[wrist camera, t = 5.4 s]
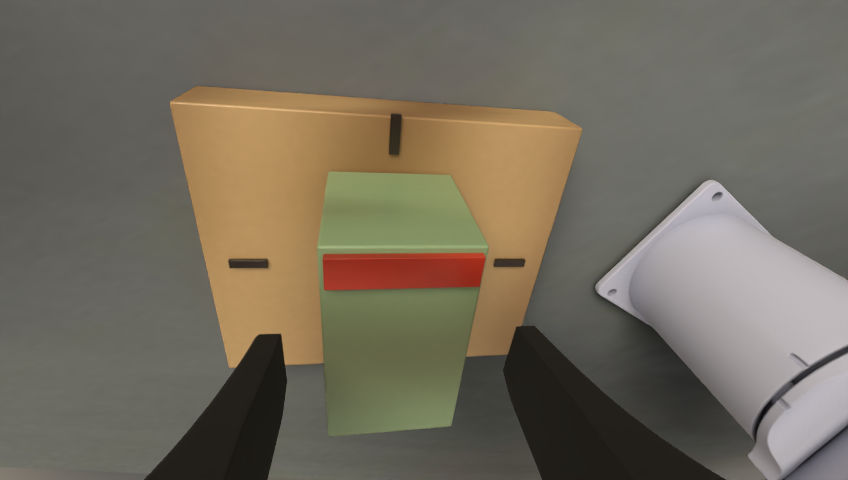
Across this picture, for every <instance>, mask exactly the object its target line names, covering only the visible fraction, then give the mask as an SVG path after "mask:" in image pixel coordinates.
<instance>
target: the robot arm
mask: <svg viewBox="0 0 848 480" xmlns="http://www.w3.org/2000/svg"><path fill="white" fill-rule="evenodd" d="M714 194H715V195H714ZM595 290H596V291H597V293H598V294H599V295H600V296H602V297H604V298H605V299H607V300H609V301H610V302H612V303H614V304H615V305H617V306H619V307H620V308H622V309H623V310H625V311H627V312H628V313H630V314H632V315H633V316H635V317H637V318H638V319H640V320H642V321H643V322H645V323H647V324H648V325H650V326H651V327H653V328H654V329H655V330H656V332H657V333H658V334H659V335H660V336H661V337H662V338H663V339H664V341H665V342H666V343H667V344H668V345H669V346H670V347H671V348H672V349H673V351H674V352H675V353H676V354H677V355H678V356H679V357H680V358H681V359H682V361H683V362H684V363H685V364H686V365H687V366H688V367H689V368H690V370H691V371H692V372H693V373H694V374H695V375H696V376H697V377H698V378H699V380H700V381H701V382H702V383H703V384H704V385H705V386H706V387H707V388H708V390H709V391H710V392H711V393H712V394H713V395H714V396H715V397H716V399H717V400H718V401H719V402H720V403H721V404H722V405H723V406H724V407H725V409H726V410H727V411H728V412H729V413H730V414H731V415H732V416H733V418H734V419H735V420H736V421H737V422H738V423H739V424H740V425H741V426H742V428H743V429H744V430H745V431H746V432H747V433H748V434H749V435H750V436H751V438H752V439H753V440H754V441H755V442H756V444H755V446H754V447H753V448H752V450H751V451H750V452H749V453H748V454H747V457H748V458H749V459H750V461H751V462H752V463H753V464H754V465H755V466H756V468H757V469H758V470H759V471H760V472H761V473H762V475H763V476H764V477H765V478H766V479H765V480H848V280H846V279H844V278H843V277H841V276H839V275H837V274H836V273H834V272H832V271H831V270H829V269H827V268H825V267H824V266H822V265H820V264H819V263H817V262H815V261H813V260H812V259H810V258H808V257H806V256H805V255H803V254H801V253H800V252H798V251H796V250H794V249H793V248H791V247H789V246H788V245H786V244H784V243H782V242H781V241H779V240H777V239H775V238H774V237H772V236H771V235H770V234H769V233H768V232H767V230H766V229H765V228H764V227H763V226H762V225H761V224H760V223H759V222H758V221H757V220H756V219H755V218H754V217H753V216H752V215H751V214H750V213H749V212H748V211H747V210H746V209H745V208H744V207H743V206H742V205H741V204H740V203H739V202H738V201H737V200H736V199H735V198H734V197H733V196H732V195H731V194H730V193H729V192H728V191H727V190H726V189H725V188H724V187H723V186H722V185H721V184H720V183H718V182H716V181H714V180H708V181H706V182H704V183H703V184H701V185H700V186H699V187H698V188H697V189H696V190H695V191H694V192H693V193H692V194H691V195H690V196H689V197H688V198H686V199H685V200H684V201H683V202H682V203H681V204H680V205H679V206H678V207H677V208H676V209H675V210H674V211H673V212H672V213H671V214H670V215H668V216H667V217H666V218H665V219H664V220H663V221H662V222H661V223H660V224H659V225H658V226H657V227H656V228H655V229H654V230H653V231H651V232H650V233H649V234H648V235H647V236H646V237H645V238H644V239H643V240H642V241H641V242H640V243H639V244H638V245H637V246H636V247H634V248H633V249H632V250H631V251H630V252H629V253H628V254H627V255H626V256H625V257H624V258H623V259H622V260H621V261H620V262H619V263H617V264H616V265H615V266H614V267H613V268H612V269H611V270H610V271H609V272H608V273H607V274H606V275H605V276H604V277H603V278H602V279H600V280H599V281H598V282H597V284H596V286H595ZM503 371H504V375H505V379H506V383H507V387H508V391H509V395H510V398H511V402H512V404H513V407H514V409H515V412H516V415H517V417H518V420H519V422H520V425H521V427H522V430H523V432H524V435H525V437H526V440H527V442H528V445H529V447H530V450H531V452H532V455H533V457H534V460H535V462H536V465H537V467H538V470H539V472H540V475H541V478H542V480H725V479H724V478H722V477H720V476H719V475H717V474H715V473H714V472H712V471H710V470H709V469H707V468H706V467H704V466H702V465H701V464H699V463H698V462H696V461H694V460H693V459H691V458H690V457H688V456H687V455H685V454H684V453H682V452H681V451H679V450H678V449H676V448H675V447H673V446H672V445H671V444H669V443H668V442H666V441H665V440H663V439H662V438H660V437H659V436H658V435H656V434H655V433H653V432H652V431H651V430H649V429H648V428H647V427H646V426H644V425H643V424H642V423H640V422H639V421H638V420H636V419H635V418H634V417H632V416H631V415H630V414H629V413H627V412H626V411H625V410H624V409H622V408H621V407H620V406H619V405H618V404H616V403H615V402H614V401H613V400H612V399H611V398H609V397H608V396H607V395H606V394H605V393H604V392H602V391H601V390H600V389H599V388H598V387H597V386H596V385H595V384H594V383H592V382H591V381H590V380H589V379H588V378H587V377H586V376H585V375H584V374H583V373H582V372H581V371H580V370H578V369H577V368H576V367H575V366H574V365H573V364H572V363H571V362H570V361H569V360H568V359H567V358H566V357H565V356H564V355H563V354H562V353H561V352H560V351H559V350H558V349H557V348H556V347H555V346H554V345H553V344H552V343H551V342H550V341H549V340H548V339H547V338H546V337H545V336H544V335H543V334H542V333H541V332H540V331H539V330H538V329H537V328H536V327H535V326H516V329H515V332H514V336H513V339H512V342H511V346H510V349H509V352H508V356H507V359H506V362H505V366H504V369H503ZM286 384H287V378H286V369H285V361H284V353H283V344H282V336H281V334H259V335H257V336H256V337H255V339H254V340H253V342H252V344H251V345H250V347H249V349H248V350H247V352H246V353H245V355H244V357H243V358H242V360H241V361H240V363H239V364H238V366H237V367H236V369H235V370H234V371H233V373H232V374H231V376H230V377H229V379H228V380H227V381H226V383H225V384H224V386H223V387H222V388H221V390H220V391H219V392H218V394H217V395H216V397H215V398H214V399H213V401H212V402H211V403H210V404H209V406H208V407H207V408H206V409H205V411H204V412H203V413H202V414H201V416H200V417H199V418H198V419H197V421H196V422H195V423H194V424H193V426H192V427H191V428H190V429H189V431H188V432H187V433H186V434H185V435H184V436H183V438H182V439H181V440H180V441H179V442H178V443H177V445H176V446H175V447H174V448H173V449H172V450H171V451H170V452H169V453H168V455H167V456H166V457H165V458H164V459H163V460H162V461H161V462H160V463H159V464H158V465H157V467H156V468H155V469H154V470H153V471H152V472H151V473H150V474H149V475H148V476H147V477H146V478H145V479H144V480H267V479H268V475H269V470H270V466H271V462H272V458H273V454H274V450H275V445H276V441H277V437H278V433H279V429H280V424H281V420H282V415H283V408H284V401H285V392H286Z"/></svg>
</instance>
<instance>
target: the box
mask: <svg viewBox="0 0 848 480" xmlns="http://www.w3.org/2000/svg"><path fill="white" fill-rule="evenodd" d="M488 249H489V245H488V243H487V242H486V240H485V238H484V236H483V234H482V232H481V230H480V229H479V227H478V225H477V223H476V221H475V219H474V217H473V215H472V214H471V212H470V210H469V208H468V206H467V204H466V202H465V200H464V199H463V197H462V195H461V193H460V191H459V189H458V187H457V186H456V184H455V182H454V180H453V178H452V176H451V175H435V174H401V173H367V172H333V171H330V172H328V175H327V181H326V188H325V195H324V202H323V209H322V216H321V223H320V229H319V236H318V243H317V259H318V276H319V293H320V310H321V327H322V344H323V361H324V378H325V395H326V412H327V429H328V436H330V437H332V436H344V435H356V434H367V433H379V432H390V431H402V430H414V429H425V428H437V427H448V426H451V425H452V420H453V415H454V411H455V406H456V401H457V396H458V392H459V387H460V382H461V377H462V373H463V368H464V363H465V358H466V354H467V349H468V344H469V339H470V335H471V330H472V325H473V320H474V316H475V311H476V306H477V302H478V297H479V292H480V287H481V283H482V278H483V273H484V268H485V264H486V259H487V254H488Z"/></svg>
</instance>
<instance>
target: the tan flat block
mask: <svg viewBox="0 0 848 480" xmlns="http://www.w3.org/2000/svg"><path fill="white" fill-rule="evenodd" d="M170 107H171V111H172V116H173V120H174V125H175V129H176V134H177V138H178V142H179V147H180V151H181V156H182V160H183V165H184V169H185V173H186V178H187V182H188V187H189V191H190V196H191V200H192V204H193V209H194V213H195V218H196V222H197V227H198V231H199V236H200V240H201V244H202V249H203V253H204V258H205V262H206V267H207V271H208V275H209V280H210V284H211V289H212V293H213V298H214V302H215V307H216V311H217V315H218V320H219V324H220V329H221V333H222V338H223V342H224V346H225V351H226V355H227V360H228V364H229V367H230V368H235V367H237V366H238V364H239V363H240V361H241V360H242V358H243V357H244V355H245V353H246V352H247V350H248V349H249V347H250V345H251V344H252V342H253V340H254V339H255V337H256V336H257V335H259V334H281V336H282V344H283V353H284V361H285V365H299V364H320V363H324V361H323V344H322V327H321V310H320V293H319V276H318V259H317V243H318V236H319V229H320V223H321V216H322V209H323V202H324V195H325V188H326V181H327V175H328V172H330V171H333V172H367V173H401V174H435V175H451V176H452V178H453V180H454V182H455V184H456V186H457V187H458V189H459V191H460V193H461V195H462V197H463V199H464V200H465V202H466V204H467V206H468V208H469V210H470V212H471V214H472V215H473V217H474V219H475V221H476V223H477V225H478V227H479V229H480V230H481V232H482V234H483V236H484V238H485V240H486V242H487V243H488V245H489V249H488V254H487V259H486V264H485V268H484V273H483V278H482V283H481V287H480V292H479V297H478V302H477V306H476V311H475V316H474V320H473V325H472V330H471V335H470V339H469V344H468V349H467V354H466V357H468V356H489V355H508V352H509V349H510V346H511V342H512V339H513V336H514V332H515V329H516V326H522V323H523V320H524V316H525V313H526V310H527V307H528V304H529V300H530V297H531V294H532V291H533V288H534V284H535V281H536V278H537V275H538V271H539V268H540V265H541V262H542V259H543V255H544V252H545V249H546V246H547V243H548V239H549V236H550V233H551V230H552V227H553V223H554V220H555V217H556V214H557V210H558V207H559V204H560V201H561V198H562V194H563V191H564V188H565V185H566V182H567V178H568V175H569V172H570V169H571V166H572V162H573V159H574V156H575V153H576V149H577V146H578V143H579V140H580V137H581V133H582V128H581V127H579V126H577V125H575V124H574V123H572V122H570V121H569V120H567V119H565V118H564V117H562V116H560V115H558V114H557V113H555V112H548V111H535V110H521V109H507V108H493V107H480V106H466V105H452V104H438V103H424V102H411V101H397V100H383V99H369V98H356V97H342V96H328V95H314V94H300V93H287V92H273V91H259V90H245V89H232V88H218V87H204V86H196V87H194V88H192V89H191V90H189V91H187V92H186V93H184V94H182V95H181V96H179V97H177V98H175V99H174V100H172V101H170Z"/></svg>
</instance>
